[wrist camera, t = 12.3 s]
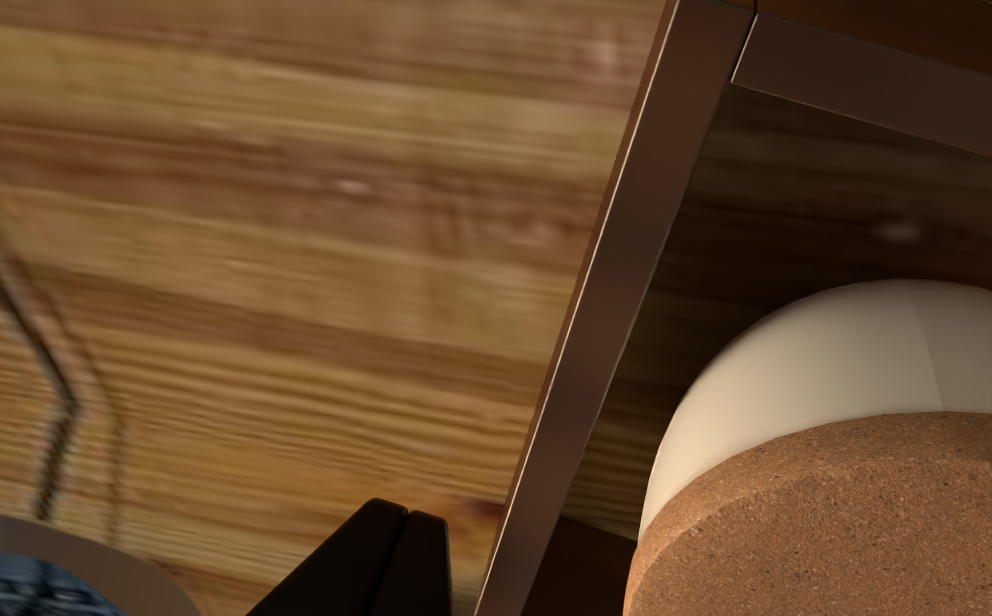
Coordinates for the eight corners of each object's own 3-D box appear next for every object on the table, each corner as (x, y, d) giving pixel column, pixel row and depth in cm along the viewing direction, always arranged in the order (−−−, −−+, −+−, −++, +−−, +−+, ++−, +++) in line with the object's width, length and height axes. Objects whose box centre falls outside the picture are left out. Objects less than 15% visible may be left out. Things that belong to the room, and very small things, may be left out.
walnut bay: (846, 633, 27) (859, 761, 24) (498, 524, 28) (466, 635, 25) (1302, 87, 16) (1437, 199, 13) (691, -79, 16) (679, -11, 13)
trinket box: (672, 524, 26) (643, 869, 19) (632, 206, 20) (568, 531, 13) (1091, 541, 23) (1252, 961, 16) (1191, 171, 17) (1525, 572, 10)
